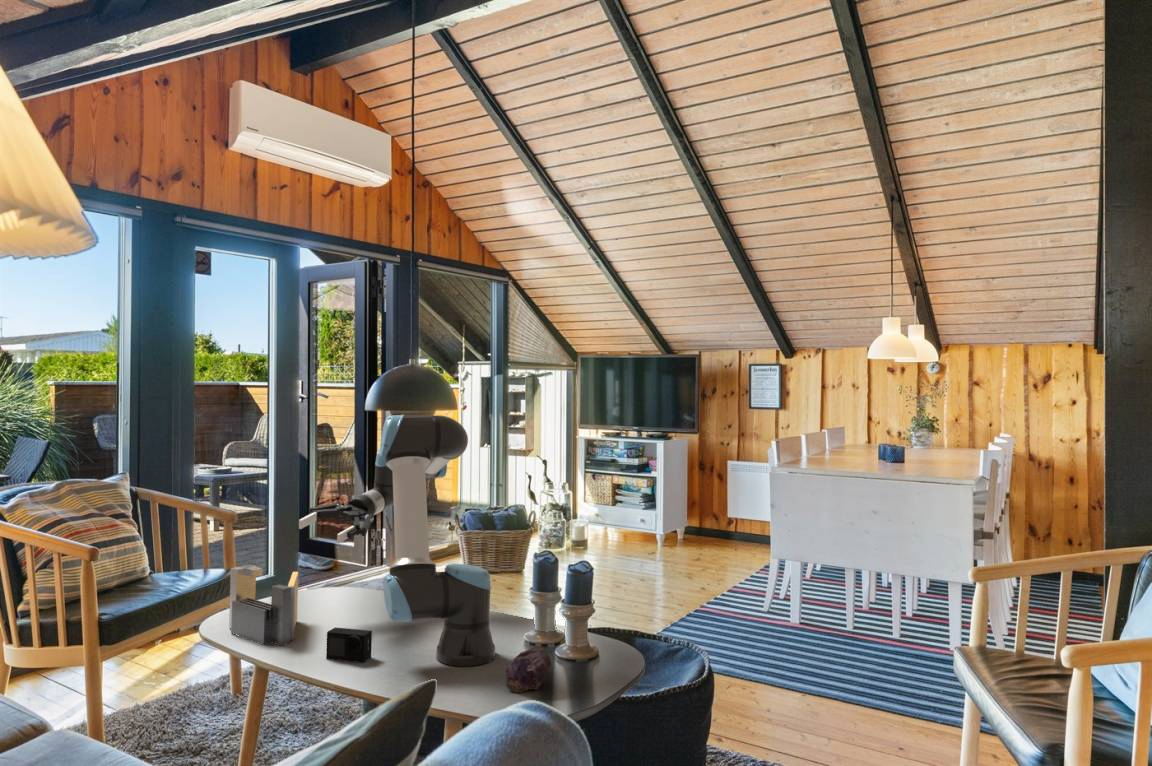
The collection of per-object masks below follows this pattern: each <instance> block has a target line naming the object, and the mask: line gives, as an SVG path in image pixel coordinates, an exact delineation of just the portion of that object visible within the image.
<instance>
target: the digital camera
mask: <svg viewBox="0 0 1152 766" xmlns="http://www.w3.org/2000/svg"><path fill="white" fill-rule="evenodd" d="M372 634H373V631H372V630H366V629H355V628H345V627H332V628H331V629H330V630H327V632H326V656H325V657H326V659H327V660H331V659H333V660H334V661H342V662H351V663H352V662H353V663H362V664H364V663H365V662H366V661H368V660H369V659H371V658H372V645H373V644H372V643H373V642H372V641H373V640H372V639H373V638H372V637H373V635H372ZM333 660H332V661H333Z"/></svg>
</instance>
